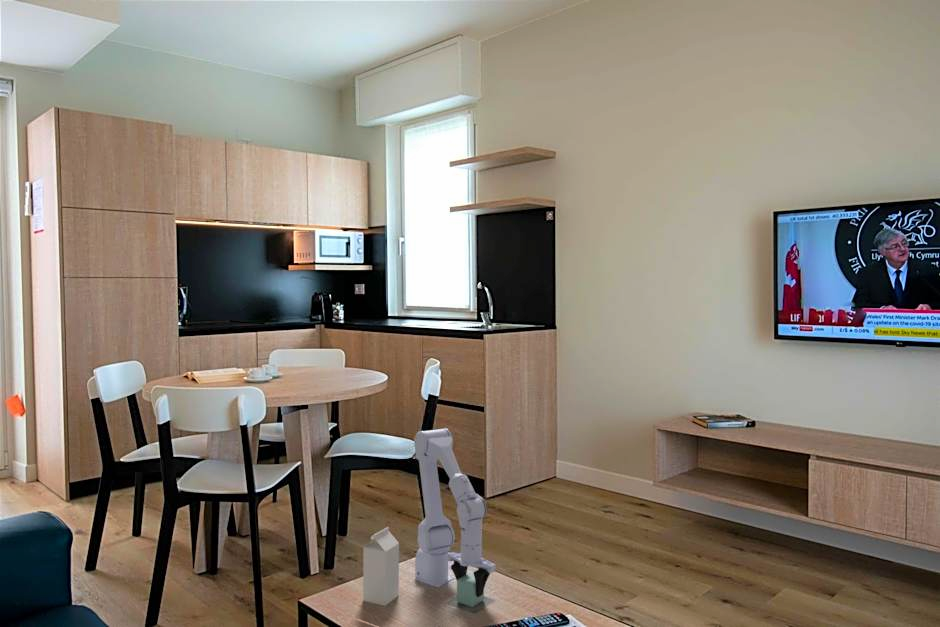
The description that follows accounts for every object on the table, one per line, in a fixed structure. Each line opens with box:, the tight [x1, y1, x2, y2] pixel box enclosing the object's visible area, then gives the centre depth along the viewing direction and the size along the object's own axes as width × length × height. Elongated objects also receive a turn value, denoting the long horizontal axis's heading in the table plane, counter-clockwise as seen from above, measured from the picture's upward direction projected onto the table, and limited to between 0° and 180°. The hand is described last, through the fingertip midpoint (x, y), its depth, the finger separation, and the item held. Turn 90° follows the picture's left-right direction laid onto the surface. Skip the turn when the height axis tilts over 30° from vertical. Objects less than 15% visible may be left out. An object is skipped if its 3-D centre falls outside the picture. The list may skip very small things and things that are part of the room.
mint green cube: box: [456, 572, 485, 607], centre depth 184 cm, size 5×5×6 cm
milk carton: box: [362, 526, 400, 606], centre depth 186 cm, size 7×7×19 cm
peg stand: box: [445, 595, 497, 614], centre depth 185 cm, size 10×10×5 cm
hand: (470, 592), depth 185 cm, fingers closed on mint green cube, 5 cm apart
